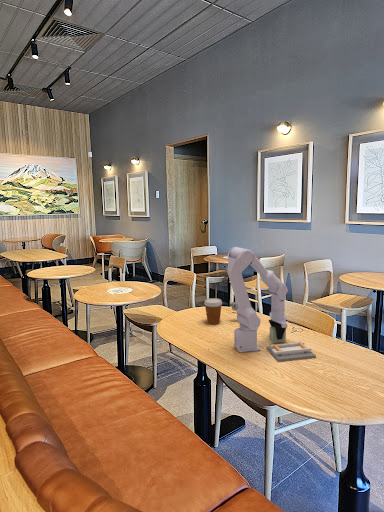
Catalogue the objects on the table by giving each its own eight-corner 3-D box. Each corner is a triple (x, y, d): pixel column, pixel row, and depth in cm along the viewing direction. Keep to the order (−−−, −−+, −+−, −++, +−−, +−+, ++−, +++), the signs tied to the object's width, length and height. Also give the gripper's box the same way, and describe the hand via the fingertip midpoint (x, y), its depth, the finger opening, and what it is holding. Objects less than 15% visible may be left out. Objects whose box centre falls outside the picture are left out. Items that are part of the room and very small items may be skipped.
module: (272, 343, 149) (273, 330, 148) (269, 339, 152) (269, 326, 151) (285, 341, 149) (285, 329, 148) (281, 338, 153) (282, 325, 152)
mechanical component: (250, 321, 175) (249, 303, 174) (230, 322, 176) (230, 303, 174) (249, 319, 178) (249, 301, 177) (229, 320, 178) (229, 302, 177)
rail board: (277, 361, 131) (278, 354, 131) (266, 348, 143) (266, 342, 142) (315, 357, 134) (316, 350, 133) (301, 345, 145) (301, 338, 145)
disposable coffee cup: (202, 320, 179) (201, 299, 177) (218, 318, 182) (218, 297, 180) (208, 326, 170) (207, 304, 168) (225, 324, 173) (225, 302, 171)
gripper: (293, 312, 142) (293, 342, 144) (279, 302, 156) (279, 330, 158) (278, 314, 141) (277, 344, 143) (265, 303, 155) (265, 331, 157)
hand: (277, 337), depth 151 cm, fingers closed on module, 4 cm apart
